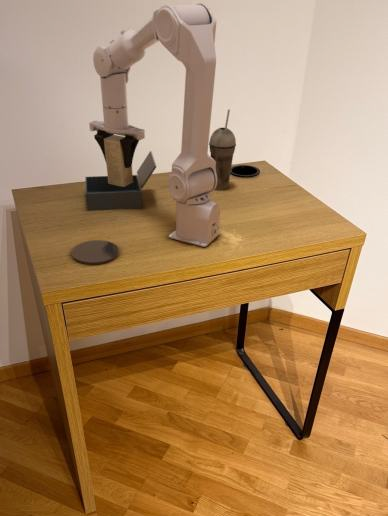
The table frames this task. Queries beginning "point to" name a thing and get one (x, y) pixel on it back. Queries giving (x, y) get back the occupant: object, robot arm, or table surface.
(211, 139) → the beverage cup
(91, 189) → the carton
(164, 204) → the table surface
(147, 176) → the flap
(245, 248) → the table surface
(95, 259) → the coaster
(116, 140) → the box
